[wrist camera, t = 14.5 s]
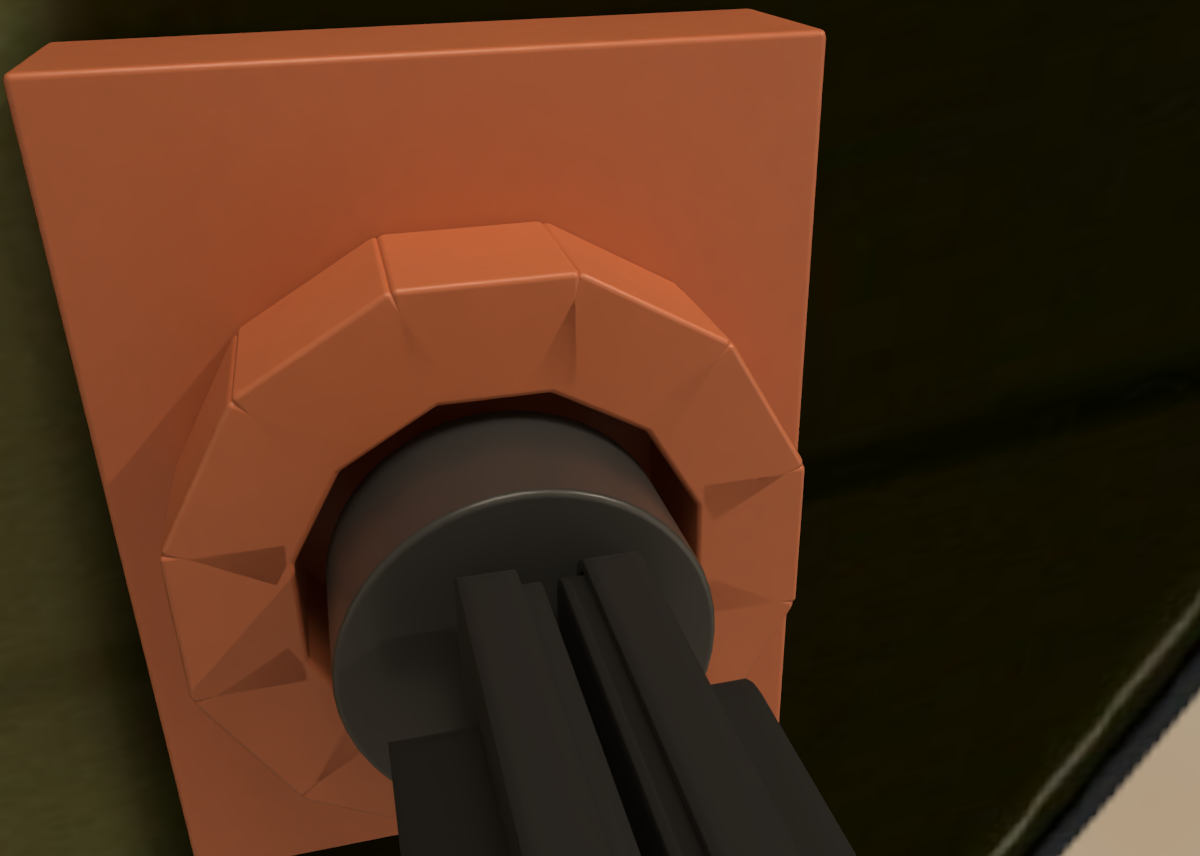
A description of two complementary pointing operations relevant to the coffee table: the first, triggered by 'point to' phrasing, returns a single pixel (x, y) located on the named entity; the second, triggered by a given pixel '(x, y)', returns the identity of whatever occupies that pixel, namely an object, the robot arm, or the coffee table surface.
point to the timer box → (413, 327)
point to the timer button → (480, 557)
